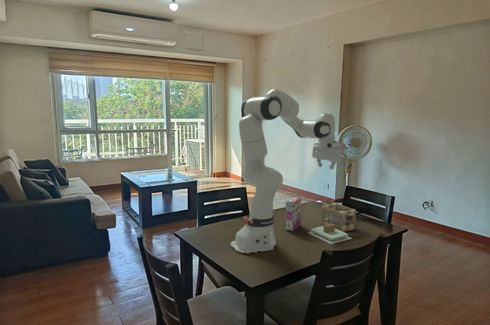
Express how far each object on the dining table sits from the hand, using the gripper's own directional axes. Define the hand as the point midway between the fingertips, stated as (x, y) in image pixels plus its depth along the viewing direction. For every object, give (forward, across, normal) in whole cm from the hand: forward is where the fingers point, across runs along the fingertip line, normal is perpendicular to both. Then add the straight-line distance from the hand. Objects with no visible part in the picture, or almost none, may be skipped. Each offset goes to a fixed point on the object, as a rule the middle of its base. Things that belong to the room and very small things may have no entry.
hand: (325, 167), depth 187 cm
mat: (+33, +15, -10) cm, 38 cm away
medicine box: (+33, +7, +4) cm, 34 cm away
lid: (+32, +15, -10) cm, 36 cm away
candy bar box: (+33, -4, -19) cm, 39 cm away
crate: (+33, +7, +4) cm, 34 cm away
